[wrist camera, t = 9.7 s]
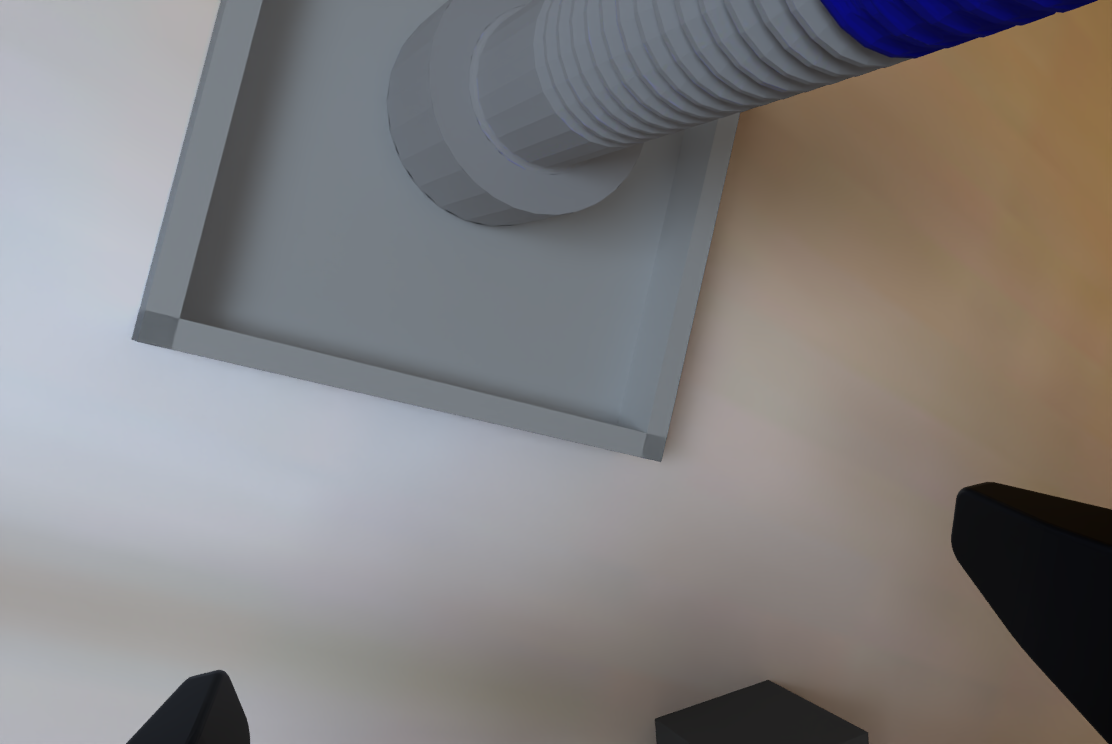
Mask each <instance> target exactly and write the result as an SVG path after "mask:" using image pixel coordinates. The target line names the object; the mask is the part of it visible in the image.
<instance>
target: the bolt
mask: <svg viewBox="0 0 1112 744" xmlns="http://www.w3.org/2000/svg"><path fill="white" fill-rule="evenodd" d="M1095 1H1097V0H448V1H447V2H446V3H444V4H443V5H442V6H441V7H440V8H439V9H437V10H436V11H435V12H434V13H433V14H432V15H431V16H429V17H428V18H427V19H426V20H425V21H424V22H422V23H421V24H420V25H419V26H418V28H417V29H416V30H415V31H414V32H413V34H412V35H411V36H410V37H409V38H408V39H407V41H406V42H405V43H404V44H403V46H402V47H401V50H400V52H399V54H398V57H397V59H396V61H395V64H394V66H393V68H392V70H391V74H390V80H389V87H388V93H387V100H386V101H387V113H388V124H389V130H390V134H391V137H392V140H393V143H394V147H395V150H396V153H397V155H398V157H399V159H400V161H401V163H402V164H403V166H404V168H405V170H406V172H407V173H408V175H409V177H410V178H411V179H412V180H413V182H414V183H415V184H416V185H417V186H418V188H419V189H420V190H421V191H422V192H423V194H424V195H425V196H426V197H428V198H429V199H430V200H431V201H432V202H434V203H435V204H436V205H437V206H438V207H440V208H442V209H443V210H445V211H446V212H448V213H449V214H452V215H454V216H456V217H458V218H460V219H462V220H465V221H469V222H472V223H475V224H479V225H487V226H511V225H517V224H522V223H527V222H532V221H536V220H541V219H546V218H551V217H555V216H560V215H565V214H570V213H573V212H578V211H580V210H583V209H585V208H587V207H590V206H592V205H595V204H597V203H598V202H600V201H601V200H603V199H604V198H605V197H607V196H608V195H610V194H611V193H612V192H614V191H615V190H616V189H617V188H618V187H619V186H620V184H621V183H622V182H623V181H624V180H625V179H626V177H627V176H628V175H629V173H630V172H631V170H632V168H633V167H634V165H635V164H636V161H637V160H638V158H639V155H640V153H641V150H642V147H643V144H644V142H646V141H649V140H652V139H656V138H659V137H662V136H665V135H668V134H673V133H676V132H678V131H681V130H684V129H689V128H692V127H695V126H697V125H700V124H705V123H708V122H711V121H714V120H716V119H719V118H724V117H727V116H730V115H733V114H736V113H739V112H744V111H747V110H749V109H752V108H755V107H758V106H763V105H766V104H769V103H772V102H775V101H777V100H780V99H786V98H789V97H791V96H794V95H797V94H800V93H803V92H808V91H811V90H814V89H817V88H820V87H823V86H825V85H831V84H834V83H837V82H840V81H843V80H845V79H848V78H851V77H857V76H860V75H863V74H866V73H869V72H871V71H874V70H877V69H880V68H886V67H889V66H892V65H895V64H898V63H900V62H903V61H906V60H909V59H911V58H918V57H921V56H924V55H927V54H930V53H932V52H935V51H938V50H941V49H944V48H950V47H953V46H956V45H959V44H962V43H965V42H968V41H970V40H973V39H976V38H978V37H986V36H989V35H992V34H995V33H998V32H1000V31H1003V30H1006V29H1009V28H1011V27H1014V26H1016V25H1025V24H1028V23H1031V22H1034V21H1036V20H1039V19H1042V18H1045V17H1047V16H1050V15H1053V14H1055V13H1056V12H1062V13H1063V12H1066V11H1070V10H1073V9H1076V8H1078V7H1081V6H1084V5H1087V4H1089V3H1092V2H1095Z"/></svg>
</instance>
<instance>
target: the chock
mask: <svg viewBox="0 0 1112 744" xmlns="http://www.w3.org/2000/svg"><path fill="white" fill-rule="evenodd" d="M655 726H656V740H657V744H869V743H868V732H866V731H864V730H862V729H861V728H859V727H857V726H855V725H853V724H851V723H849V722H847V721H845V720H843V719H842V718H840V717H838V716H836V715H834V714H832V713H830V712H828V711H826V710H824V709H823V708H821V707H819V706H817V705H815V704H813V703H811V702H809V701H807V700H805V699H804V698H802V697H800V696H798V695H796V694H794V693H792V692H790V691H788V690H786V689H785V688H783V687H781V686H779V685H777V684H775V683H773V682H771V681H769V680H766V681H764V682H761V683H758V684H755V685H752V686H749V687H746V688H743V689H740V690H737V691H734V692H732V693H729V694H726V695H723V696H720V697H717V698H714V699H711V700H708V701H705V702H702V703H700V704H697V705H694V706H691V707H688V708H685V709H682V710H679V711H676V712H673V713H670V714H667V715H665V716H662V717H659V718H656V719H655Z"/></svg>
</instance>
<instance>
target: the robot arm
mask: <svg viewBox="0 0 1112 744" xmlns="http://www.w3.org/2000/svg"><path fill="white" fill-rule="evenodd" d="M951 543H952V548H953V552H954V554H955V556H956V558H957V560H958V562H959V563H960V565H961V566H962V567H963V569H964V570H965V572H966V573H967V574H968V576H969V577H970V578H971V580H972V581H973V582H974V584H975V585H976V587H977V588H978V589H979V591H980V592H981V593H982V595H983V596H984V598H985V599H986V600H987V602H988V603H989V604H990V606H991V607H992V609H993V610H994V611H995V613H996V614H997V615H998V617H999V618H1000V620H1001V621H1002V622H1003V624H1004V625H1005V626H1006V628H1007V629H1008V631H1009V632H1010V633H1011V634H1012V636H1013V637H1014V638H1015V640H1016V641H1017V642H1018V643H1019V645H1020V646H1021V647H1022V648H1023V650H1024V651H1025V652H1026V653H1027V654H1028V655H1029V657H1030V658H1031V659H1032V660H1033V661H1034V662H1035V663H1036V665H1037V666H1038V667H1039V668H1040V669H1041V670H1042V671H1043V672H1044V673H1045V674H1046V676H1047V677H1048V678H1049V679H1050V680H1051V681H1052V682H1053V683H1054V684H1055V685H1056V687H1057V688H1058V689H1059V690H1060V691H1061V692H1062V693H1063V694H1064V695H1065V696H1066V698H1067V699H1068V700H1069V701H1070V702H1071V703H1072V704H1073V705H1074V706H1075V707H1076V709H1077V710H1078V711H1079V712H1080V713H1081V714H1082V715H1083V716H1084V717H1085V718H1086V720H1087V721H1088V722H1089V723H1090V724H1091V725H1092V726H1093V727H1094V728H1095V729H1096V731H1097V732H1098V733H1099V734H1100V735H1101V736H1102V737H1103V738H1104V739H1105V740H1106V742H1107V743H1108V744H1112V510H1111V509H1107V508H1103V507H1098V506H1094V505H1090V504H1086V503H1081V502H1077V501H1073V500H1068V499H1064V498H1060V497H1055V496H1051V495H1047V494H1042V493H1038V492H1034V491H1030V490H1025V489H1021V488H1017V487H1012V486H1008V485H1004V484H999V483H995V482H985V483H981V484H977V485H972V486H968V487H965V488H963V489H961V490H960V491H959V493H958V495H957V498H956V505H955V512H954V520H953V527H952V534H951ZM126 744H250V733H249V726H248V722H247V718H246V716H245V713H244V711H243V708H242V706H241V704H240V701H239V699H238V696H237V694H236V692H235V689H234V687H233V684H232V682H231V680H230V678H229V676H228V674H227V673H226V672H225V671H222V670H216V671H212V672H208V673H204V674H200V675H196V676H192V677H189V678H188V679H187V680H185V681H184V682H183V683H182V684H181V685H180V686H179V687H178V689H177V690H176V691H175V692H174V693H173V694H172V695H171V696H170V697H169V698H168V699H167V700H166V701H165V702H164V704H163V705H162V706H161V707H160V708H159V709H158V710H157V711H156V712H155V713H154V714H153V715H152V716H151V717H150V719H149V720H148V721H147V722H146V723H145V724H144V725H143V726H142V727H141V728H140V729H139V730H138V731H137V732H136V734H135V735H134V736H133V737H132V738H131V739H130V740H129V741H128V742H127V743H126Z"/></svg>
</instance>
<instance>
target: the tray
mask: <svg viewBox="0 0 1112 744" xmlns="http://www.w3.org/2000/svg"><path fill="white" fill-rule="evenodd" d="M447 1H448V0H221V3H220V7H219V10H218V14H217V18H216V22H215V25H214V29H213V33H212V37H211V41H210V44H209V48H208V52H207V56H206V60H205V63H204V67H203V71H202V75H201V78H200V82H199V86H198V90H197V94H196V97H195V101H194V105H193V109H192V113H191V116H190V120H189V124H188V128H187V131H186V135H185V139H184V143H183V147H182V150H181V154H180V158H179V162H178V165H177V169H176V173H175V177H174V181H173V184H172V188H171V192H170V196H169V200H168V203H167V207H166V211H165V215H164V218H163V222H162V226H161V230H160V234H159V237H158V241H157V245H156V249H155V253H154V256H153V260H152V264H151V268H150V271H149V275H148V279H147V283H146V287H145V290H144V294H143V298H142V302H141V306H140V309H139V313H138V317H137V321H136V324H135V328H134V332H133V336H132V340H135V341H137V342H141V343H146V344H150V345H155V346H159V347H163V348H168V349H172V350H176V351H181V352H185V353H189V354H194V355H198V356H202V357H207V358H211V359H215V360H220V361H224V362H228V363H233V364H237V365H242V366H246V367H250V368H255V369H259V370H263V371H268V372H272V373H276V374H281V375H285V376H289V377H294V378H298V379H302V380H307V381H311V382H315V383H320V384H324V385H329V386H333V387H337V388H342V389H346V390H350V391H355V392H359V393H363V394H368V395H372V396H376V397H381V398H385V399H389V400H394V401H398V402H402V403H407V404H411V405H416V406H420V407H424V408H429V409H433V410H437V411H442V412H446V413H450V414H455V415H459V416H463V417H468V418H472V419H476V420H481V421H485V422H489V423H494V424H498V425H503V426H507V427H511V428H516V429H520V430H524V431H529V432H533V433H537V434H542V435H546V436H550V437H555V438H559V439H563V440H568V441H572V442H576V443H581V444H585V445H589V446H594V447H598V448H603V449H607V450H611V451H616V452H620V453H624V454H629V455H633V456H637V457H642V458H646V459H650V460H655V461H659V462H661V461H662V456H663V452H664V447H665V443H666V439H667V434H668V430H669V425H670V421H671V416H672V412H673V408H674V403H675V399H676V394H677V390H678V385H679V381H680V377H681V372H682V368H683V363H684V359H685V355H686V350H687V346H688V341H689V337H690V332H691V328H692V324H693V319H694V315H695V310H696V306H697V301H698V297H699V293H700V288H701V284H702V279H703V275H704V270H705V266H706V262H707V257H708V253H709V248H710V244H711V239H712V235H713V231H714V226H715V222H716V217H717V213H718V208H719V204H720V200H721V195H722V191H723V186H724V182H725V178H726V173H727V169H728V164H729V160H730V155H731V151H732V147H733V142H734V138H735V133H736V129H737V124H738V120H739V116H740V112H739V113H736V114H733V115H730V116H727V117H724V118H719V119H716V120H714V121H711V122H708V123H705V124H700V125H697V126H695V127H692V128H689V129H684V130H681V131H678V132H676V133H673V134H668V135H665V136H662V137H659V138H656V139H652V140H649V141H646V142H644V144H643V147H642V150H641V153H640V155H639V158H638V160H637V161H636V164H635V165H634V167H633V168H632V170H631V172H630V173H629V175H628V176H627V177H626V179H625V180H624V181H623V182H622V183H621V184H620V186H619V187H618V188H617V189H616V190H615V191H614V192H612V193H611V194H610V195H608V196H607V197H605V198H604V199H603V200H601V201H600V202H598V203H597V204H595V205H592V206H590V207H587V208H585V209H583V210H580V211H578V212H573V213H570V214H565V215H560V216H555V217H551V218H546V219H541V220H536V221H532V222H527V223H522V224H517V225H511V226H487V225H479V224H475V223H472V222H469V221H465V220H462V219H460V218H458V217H456V216H454V215H452V214H449V213H448V212H446V211H445V210H443V209H442V208H440V207H438V206H437V205H436V204H435V203H434V202H432V201H431V200H430V199H429V198H428V197H426V196H425V195H424V194H423V192H422V191H421V190H420V189H419V188H418V186H417V185H416V184H415V183H414V182H413V180H412V179H411V178H410V177H409V175H408V173H407V172H406V170H405V168H404V166H403V164H402V163H401V161H400V159H399V157H398V155H397V153H396V150H395V147H394V143H393V140H392V137H391V134H390V130H389V124H388V113H387V101H386V100H387V93H388V87H389V80H390V74H391V70H392V68H393V66H394V64H395V61H396V59H397V57H398V54H399V52H400V50H401V47H402V46H403V44H404V43H405V42H406V41H407V39H408V38H409V37H410V36H411V35H412V34H413V32H414V31H415V30H416V29H417V28H418V26H419V25H420V24H421V23H422V22H424V21H425V20H426V19H427V18H428V17H429V16H431V15H432V14H433V13H434V12H435V11H436V10H437V9H439V8H440V7H441V6H442V5H443V4H444V3H446V2H447Z"/></svg>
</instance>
